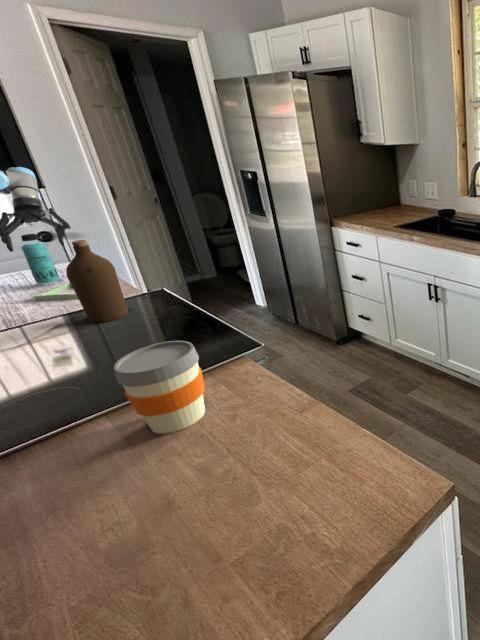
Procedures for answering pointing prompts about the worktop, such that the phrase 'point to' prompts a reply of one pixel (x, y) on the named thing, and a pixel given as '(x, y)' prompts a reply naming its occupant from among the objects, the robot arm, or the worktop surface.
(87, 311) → the brown jug bottle
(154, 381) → the reusable coffee cup
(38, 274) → the beverage bottle
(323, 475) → the worktop surface
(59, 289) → the back pad
